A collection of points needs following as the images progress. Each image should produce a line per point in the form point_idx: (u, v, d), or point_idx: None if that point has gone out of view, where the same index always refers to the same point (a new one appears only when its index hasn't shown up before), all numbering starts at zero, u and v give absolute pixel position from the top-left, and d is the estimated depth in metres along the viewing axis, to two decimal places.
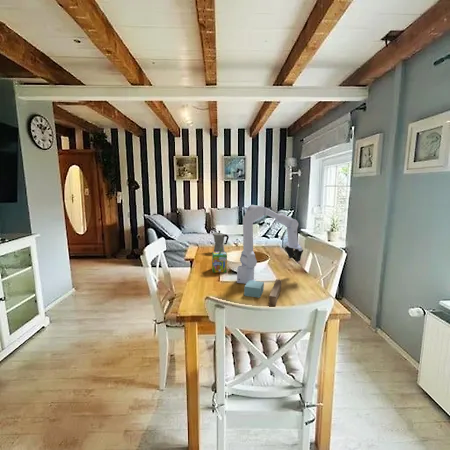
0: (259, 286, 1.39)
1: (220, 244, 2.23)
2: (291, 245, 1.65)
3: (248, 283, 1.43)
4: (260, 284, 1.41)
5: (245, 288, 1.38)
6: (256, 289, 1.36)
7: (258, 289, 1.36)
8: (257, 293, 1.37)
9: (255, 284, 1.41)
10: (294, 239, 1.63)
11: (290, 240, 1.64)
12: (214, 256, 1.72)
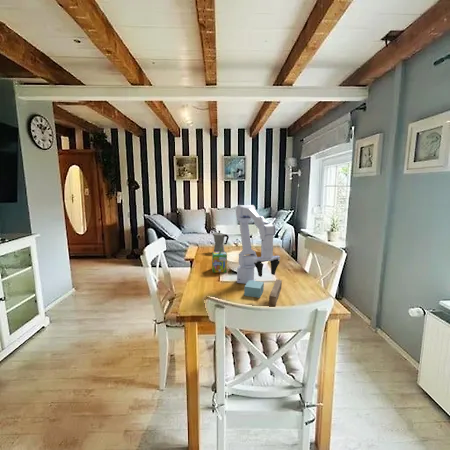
0: (259, 286, 1.39)
1: (220, 244, 2.23)
2: None
3: (248, 283, 1.43)
4: (260, 284, 1.41)
5: (245, 288, 1.38)
6: (256, 289, 1.36)
7: (258, 289, 1.36)
8: (257, 293, 1.37)
9: (255, 284, 1.41)
10: (261, 249, 1.37)
11: None
12: (214, 256, 1.72)
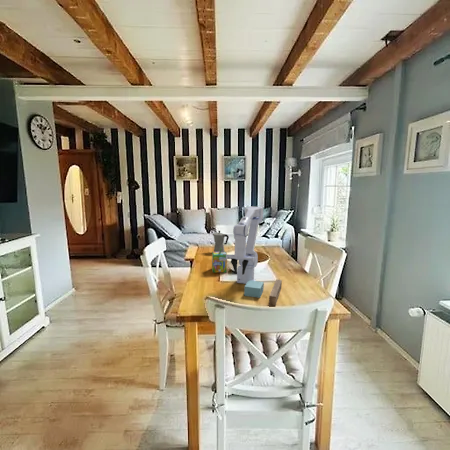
0: (259, 286, 1.39)
1: (220, 244, 2.23)
2: None
3: (248, 283, 1.43)
4: (260, 284, 1.41)
5: (245, 288, 1.38)
6: (256, 289, 1.36)
7: (258, 289, 1.36)
8: (257, 293, 1.37)
9: (255, 284, 1.41)
10: None
11: None
12: (214, 256, 1.72)
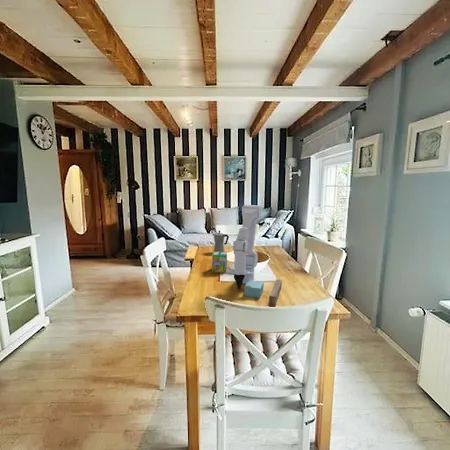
0: (259, 286, 1.39)
1: (220, 244, 2.23)
2: None
3: (248, 283, 1.42)
4: (260, 284, 1.41)
5: (245, 288, 1.38)
6: (256, 289, 1.36)
7: (258, 289, 1.36)
8: (257, 293, 1.37)
9: (255, 284, 1.41)
10: None
11: None
12: (214, 256, 1.72)
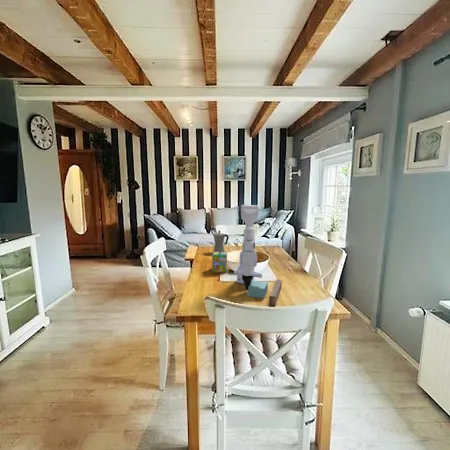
0: (263, 286, 1.38)
1: (220, 244, 2.23)
2: None
3: (252, 283, 1.42)
4: (264, 284, 1.41)
5: (249, 288, 1.37)
6: (260, 289, 1.36)
7: (262, 289, 1.35)
8: (261, 293, 1.36)
9: (259, 285, 1.40)
10: None
11: None
12: (214, 256, 1.72)
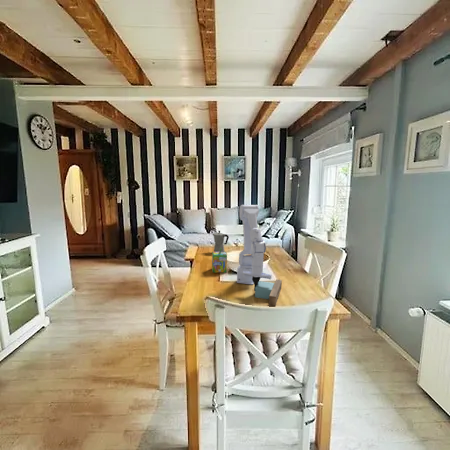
0: (270, 287, 1.37)
1: (220, 244, 2.23)
2: None
3: (259, 284, 1.41)
4: (270, 285, 1.40)
5: (256, 289, 1.36)
6: (267, 290, 1.35)
7: (269, 290, 1.34)
8: (268, 294, 1.35)
9: (266, 285, 1.39)
10: None
11: None
12: (214, 256, 1.72)
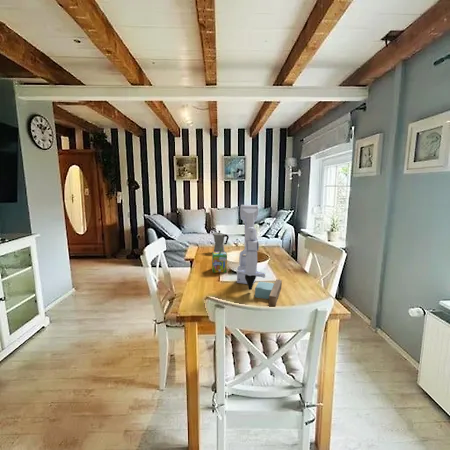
0: (270, 287, 1.37)
1: (220, 244, 2.23)
2: None
3: (258, 284, 1.41)
4: (270, 285, 1.40)
5: (256, 290, 1.36)
6: (267, 291, 1.35)
7: (269, 291, 1.34)
8: (268, 295, 1.35)
9: (266, 286, 1.39)
10: None
11: None
12: (214, 256, 1.72)
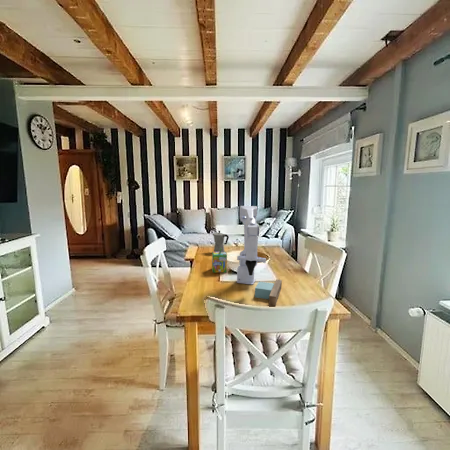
0: (270, 288, 1.37)
1: (220, 244, 2.23)
2: None
3: (258, 284, 1.41)
4: (270, 286, 1.40)
5: (256, 290, 1.36)
6: (267, 291, 1.35)
7: (269, 291, 1.34)
8: (268, 295, 1.35)
9: (266, 286, 1.39)
10: None
11: None
12: (214, 256, 1.72)
